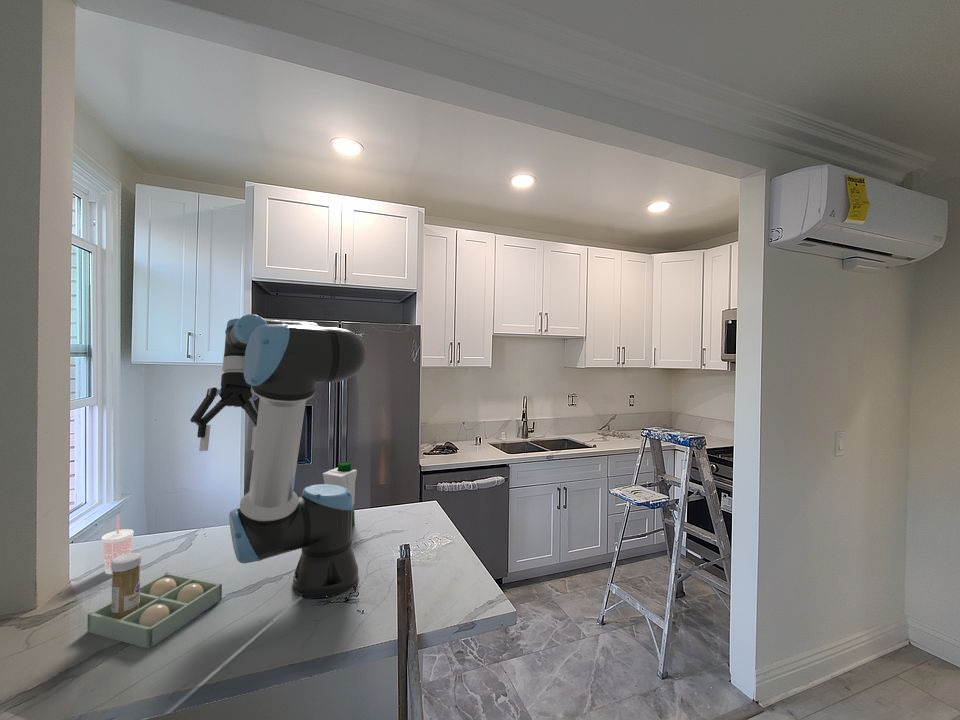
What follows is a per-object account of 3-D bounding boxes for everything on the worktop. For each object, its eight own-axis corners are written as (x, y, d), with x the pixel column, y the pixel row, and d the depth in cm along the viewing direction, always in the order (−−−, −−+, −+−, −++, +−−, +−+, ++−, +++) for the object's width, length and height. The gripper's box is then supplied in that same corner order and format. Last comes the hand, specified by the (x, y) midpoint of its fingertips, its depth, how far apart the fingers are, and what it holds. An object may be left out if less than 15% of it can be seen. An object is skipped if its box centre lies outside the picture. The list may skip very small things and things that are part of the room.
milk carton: (358, 523, 134) (360, 463, 134) (339, 534, 126) (341, 470, 125) (337, 518, 138) (339, 460, 137) (317, 529, 129) (319, 466, 129)
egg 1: (181, 596, 92) (182, 575, 92) (160, 609, 87) (160, 587, 87) (165, 592, 93) (165, 571, 93) (143, 605, 89) (143, 583, 88)
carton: (221, 601, 91) (221, 583, 91) (148, 651, 76) (149, 629, 76) (166, 589, 95) (167, 572, 95) (87, 634, 80) (87, 614, 80)
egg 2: (175, 624, 83) (175, 601, 83) (151, 640, 78) (151, 615, 78) (157, 619, 84) (157, 596, 84) (132, 635, 79) (132, 611, 79)
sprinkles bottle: (138, 624, 82) (139, 559, 82) (108, 632, 80) (108, 565, 80) (141, 612, 86) (142, 549, 86) (113, 619, 84) (114, 555, 83)
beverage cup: (138, 561, 107) (138, 509, 107) (125, 574, 101) (126, 518, 101) (109, 564, 105) (110, 511, 105) (95, 577, 99) (95, 520, 99)
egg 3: (208, 602, 90) (209, 580, 90) (188, 615, 86) (188, 593, 85) (191, 598, 91) (192, 577, 91) (170, 611, 87) (171, 589, 87)
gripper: (271, 380, 127) (266, 450, 122) (181, 368, 106) (171, 451, 101) (286, 377, 123) (281, 448, 119) (196, 364, 102) (186, 450, 98)
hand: (230, 450), depth 110 cm, fingers open, 13 cm apart
